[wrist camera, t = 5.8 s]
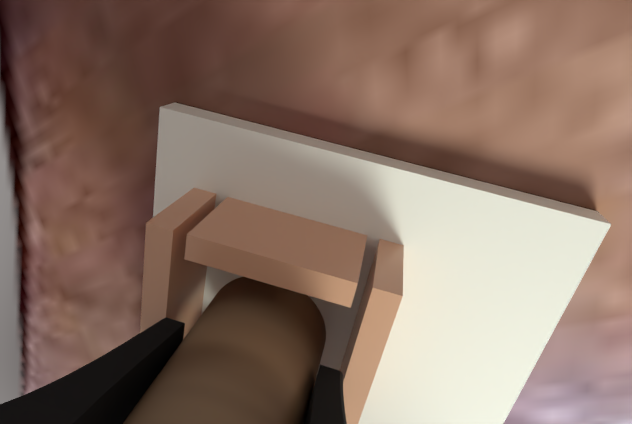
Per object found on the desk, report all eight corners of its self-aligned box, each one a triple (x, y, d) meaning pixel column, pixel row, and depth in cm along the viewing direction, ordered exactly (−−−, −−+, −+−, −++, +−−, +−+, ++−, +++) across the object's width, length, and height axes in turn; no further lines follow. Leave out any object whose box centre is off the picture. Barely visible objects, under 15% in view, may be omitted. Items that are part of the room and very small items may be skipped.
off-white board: (409, 573, 22) (409, 597, 21) (145, 482, 23) (135, 501, 22) (597, 211, 14) (610, 224, 13) (174, 102, 15) (159, 106, 14)
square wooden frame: (350, 405, 17) (339, 475, 14) (177, 351, 18) (135, 408, 15) (403, 245, 14) (402, 296, 11) (193, 187, 15) (146, 222, 12)
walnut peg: (312, 389, 15) (244, 643, 9) (204, 355, 16) (66, 577, 9) (338, 295, 14) (278, 524, 7) (216, 260, 14) (60, 449, 8)
